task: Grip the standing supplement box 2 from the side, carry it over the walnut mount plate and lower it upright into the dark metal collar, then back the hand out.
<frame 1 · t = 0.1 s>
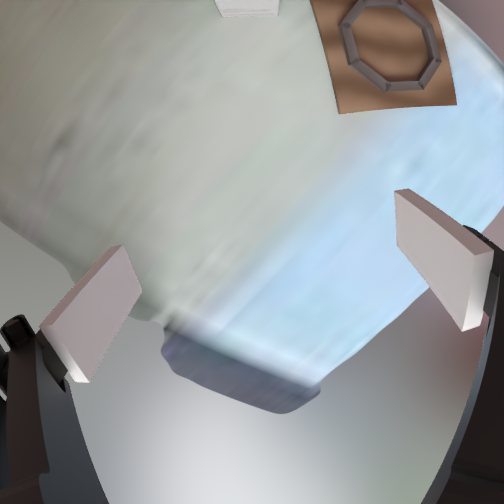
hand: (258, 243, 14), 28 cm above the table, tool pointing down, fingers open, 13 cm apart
mount plate: (387, 45, 31), on the table
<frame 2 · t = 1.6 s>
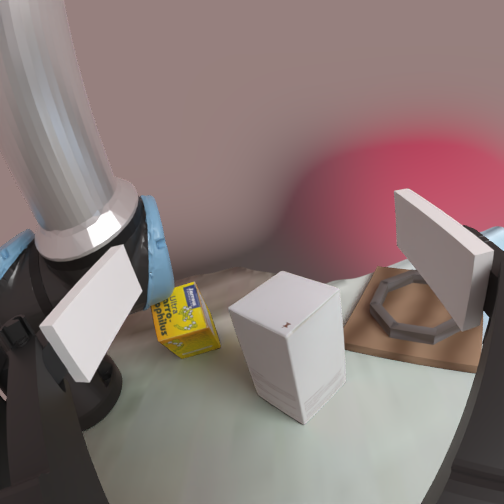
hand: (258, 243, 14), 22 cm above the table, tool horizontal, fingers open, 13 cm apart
supplement box 2: (301, 390, 32), on the table
mount plate: (420, 314, 37), on the table
supplement box: (196, 336, 43), point 1 cm above the table, touching arm
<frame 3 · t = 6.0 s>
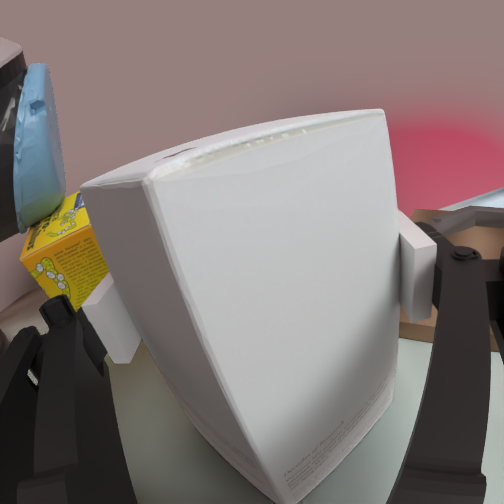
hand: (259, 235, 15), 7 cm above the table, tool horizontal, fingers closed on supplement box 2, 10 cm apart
supplement box 2: (290, 421, 13), on the table, touching gripper
mount plate: (499, 270, 18), on the table
supplement box: (123, 316, 26), on the table, touching arm
when the fingers open (11 cm above the table, at t = 11.8 s): supplement box 2 drops 1 cm, resting on mount plate.
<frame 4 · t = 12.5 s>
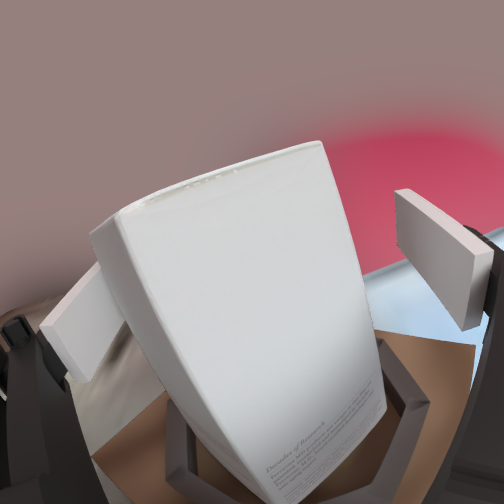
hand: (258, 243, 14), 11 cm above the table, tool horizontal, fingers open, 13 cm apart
supplement box 2: (291, 435, 14), point 2 cm above the table, touching gripper, mount plate
mount plate: (295, 436, 15), on the table
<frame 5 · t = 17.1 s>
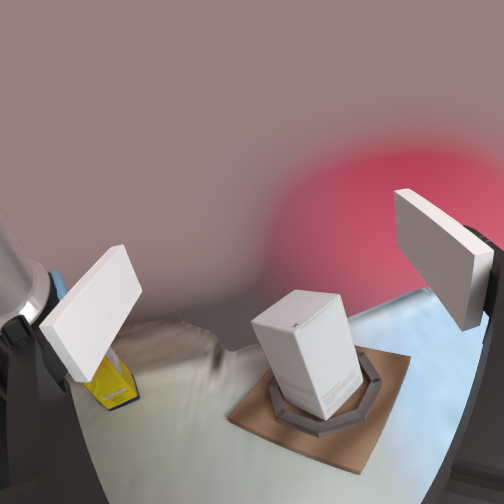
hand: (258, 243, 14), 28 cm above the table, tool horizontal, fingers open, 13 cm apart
supplement box 2: (324, 393, 35), point 2 cm above the table, touching mount plate
mount plate: (325, 395, 37), on the table
supplement box: (122, 394, 44), on the table, touching arm
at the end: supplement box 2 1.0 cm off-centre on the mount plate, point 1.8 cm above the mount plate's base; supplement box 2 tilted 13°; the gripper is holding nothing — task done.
